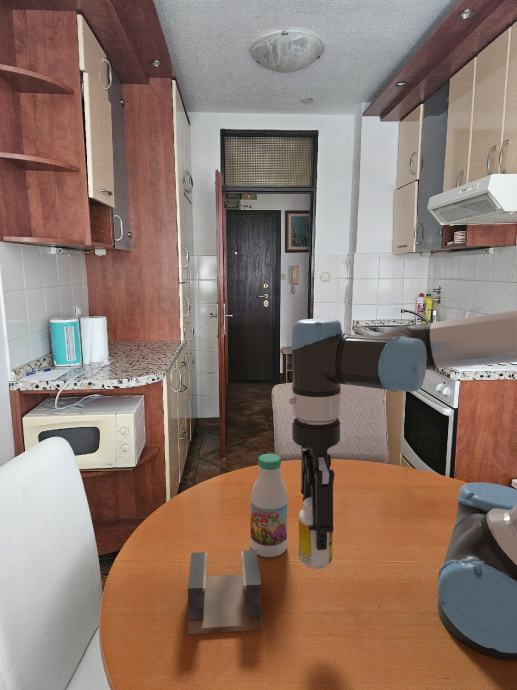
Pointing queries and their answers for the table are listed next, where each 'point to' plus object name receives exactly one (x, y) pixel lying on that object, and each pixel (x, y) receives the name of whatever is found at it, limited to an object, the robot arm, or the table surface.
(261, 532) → the milk bottle
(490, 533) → the robot arm
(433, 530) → the table surface
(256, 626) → the clamp block
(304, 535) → the supplement bottle
